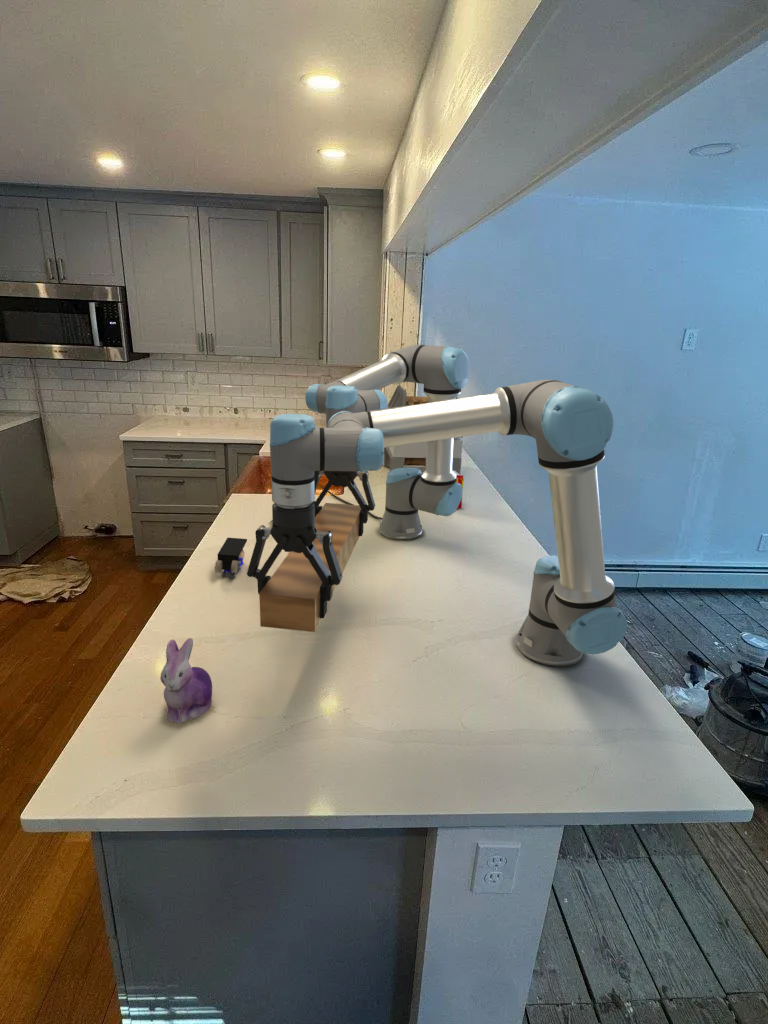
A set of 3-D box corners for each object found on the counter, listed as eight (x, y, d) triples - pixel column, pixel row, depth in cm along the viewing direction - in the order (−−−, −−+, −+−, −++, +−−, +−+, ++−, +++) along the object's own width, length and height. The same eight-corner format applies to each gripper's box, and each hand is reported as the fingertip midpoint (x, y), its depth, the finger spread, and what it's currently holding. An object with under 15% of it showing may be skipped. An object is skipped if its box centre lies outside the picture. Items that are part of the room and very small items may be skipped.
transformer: (382, 463, 289) (386, 382, 275) (445, 464, 293) (451, 384, 279) (390, 482, 257) (394, 392, 243) (460, 483, 261) (468, 394, 247)
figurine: (167, 732, 103) (160, 663, 98) (160, 699, 112) (153, 633, 107) (220, 718, 108) (215, 650, 103) (209, 687, 116) (204, 623, 111)
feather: (288, 505, 226) (290, 501, 226) (271, 529, 199) (273, 524, 199) (284, 503, 226) (287, 499, 225) (266, 526, 199) (269, 522, 199)
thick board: (325, 526, 154) (325, 502, 151) (362, 529, 152) (363, 505, 150) (260, 626, 104) (259, 593, 102) (314, 632, 103) (314, 598, 101)
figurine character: (238, 584, 162) (249, 557, 175) (236, 562, 158) (247, 536, 172) (215, 584, 161) (227, 556, 175) (212, 561, 158) (225, 535, 171)
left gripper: (292, 450, 138) (293, 534, 146) (385, 456, 136) (381, 541, 143) (300, 443, 145) (301, 524, 153) (388, 449, 143) (385, 530, 150)
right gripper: (223, 504, 98) (230, 616, 106) (353, 514, 96) (350, 628, 104) (239, 491, 105) (244, 597, 113) (360, 500, 103) (357, 608, 111)
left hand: (340, 532), depth 148 cm, fingers closed on thick board, 10 cm apart
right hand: (295, 612), depth 108 cm, fingers closed on thick board, 10 cm apart
